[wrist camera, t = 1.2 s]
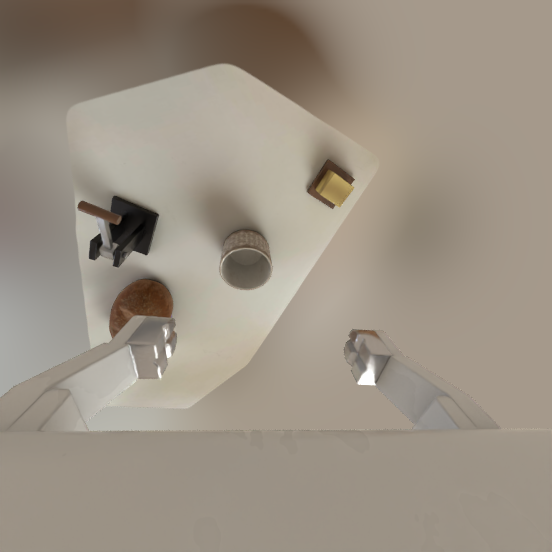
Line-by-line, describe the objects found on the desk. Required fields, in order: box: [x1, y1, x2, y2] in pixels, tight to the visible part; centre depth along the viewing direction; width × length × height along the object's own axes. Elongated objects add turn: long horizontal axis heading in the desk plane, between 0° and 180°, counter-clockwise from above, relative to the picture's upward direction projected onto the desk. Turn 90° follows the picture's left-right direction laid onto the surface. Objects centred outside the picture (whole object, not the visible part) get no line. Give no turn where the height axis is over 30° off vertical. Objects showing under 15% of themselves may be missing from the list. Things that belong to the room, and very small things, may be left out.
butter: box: [307, 160, 355, 209], centre depth 46 cm, size 8×8×5 cm
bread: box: [109, 279, 173, 339], centre depth 62 cm, size 16×29×11 cm, turn 151°
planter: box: [219, 230, 272, 290], centre depth 52 cm, size 13×13×10 cm
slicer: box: [89, 196, 159, 267], centre depth 44 cm, size 12×9×13 cm
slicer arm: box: [78, 201, 121, 260], centre depth 36 cm, size 14×5×2 cm, turn 149°
